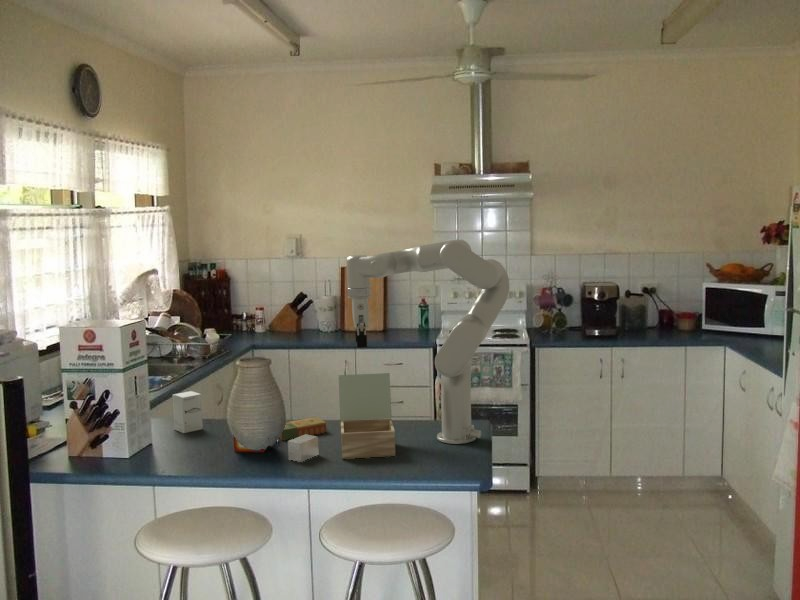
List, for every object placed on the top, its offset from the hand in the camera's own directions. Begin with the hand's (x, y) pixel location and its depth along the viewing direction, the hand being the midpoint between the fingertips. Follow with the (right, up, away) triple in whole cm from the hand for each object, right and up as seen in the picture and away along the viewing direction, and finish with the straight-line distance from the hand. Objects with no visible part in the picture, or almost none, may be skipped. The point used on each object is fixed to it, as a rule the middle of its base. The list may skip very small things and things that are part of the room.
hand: (361, 344), depth 258 cm
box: (+3, -32, -15) cm, 36 cm away
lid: (+2, -16, -7) cm, 18 cm away
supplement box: (-60, -30, +13) cm, 69 cm away
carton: (-21, -31, +5) cm, 38 cm away
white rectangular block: (-16, -33, -20) cm, 42 cm away
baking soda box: (-34, -33, -10) cm, 48 cm away
